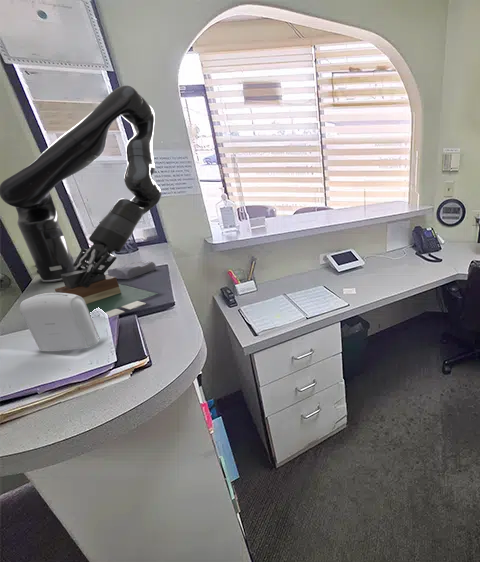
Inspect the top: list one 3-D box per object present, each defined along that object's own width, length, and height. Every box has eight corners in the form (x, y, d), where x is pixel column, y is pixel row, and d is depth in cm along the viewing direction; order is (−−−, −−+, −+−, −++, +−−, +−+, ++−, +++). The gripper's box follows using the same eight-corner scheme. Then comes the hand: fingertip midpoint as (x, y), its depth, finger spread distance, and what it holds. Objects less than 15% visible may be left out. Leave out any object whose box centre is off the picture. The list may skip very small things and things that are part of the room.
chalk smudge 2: (122, 309, 83) (121, 306, 82) (138, 303, 86) (137, 300, 86) (130, 311, 81) (129, 309, 81) (146, 305, 84) (146, 303, 84)
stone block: (107, 284, 105) (129, 280, 102) (101, 271, 104) (123, 266, 101) (139, 274, 116) (160, 270, 113) (134, 261, 115) (154, 257, 112)
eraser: (61, 306, 84) (49, 276, 81) (112, 290, 94) (102, 263, 91) (70, 309, 82) (58, 279, 79) (121, 292, 92) (112, 265, 89)
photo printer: (36, 354, 63) (9, 299, 59) (54, 343, 67) (30, 291, 63) (90, 351, 64) (67, 296, 60) (104, 340, 68) (84, 288, 64)
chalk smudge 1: (99, 317, 78) (98, 314, 78) (117, 311, 82) (116, 308, 81) (107, 320, 77) (106, 317, 76) (125, 314, 80) (124, 311, 80)
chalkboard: (36, 311, 82) (35, 309, 82) (120, 285, 99) (119, 283, 99) (74, 326, 74) (73, 324, 74) (158, 295, 91) (158, 293, 91)
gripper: (140, 241, 90) (106, 294, 85) (113, 237, 96) (79, 286, 90) (113, 226, 84) (75, 282, 78) (86, 223, 90) (48, 275, 84)
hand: (77, 284), depth 84 cm, fingers closed on eraser, 5 cm apart
